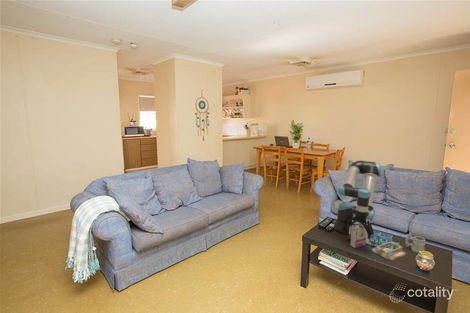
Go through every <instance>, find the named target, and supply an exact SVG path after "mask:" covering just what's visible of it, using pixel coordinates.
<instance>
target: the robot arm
mask: <svg viewBox="0 0 470 313" xmlns="http://www.w3.org/2000/svg"><path fill="white" fill-rule="evenodd" d="M381 167H382V166H381V163H380V162H377V161H365V160H356V161H355V162H352V163H350V164H349V166H348V168H347V173H346V176H345V179H344V181H343V185H339V186H338V191H337V193H338V194H337V195H340V196H343V197H350V198H355V199H357V201H356V205H355V203H353V202H350V201H349V202H347V201H345V202H340V203H338V206H337V216H336V221H335V223H334V225H333V229H334V230H335V231H336V232H338V233H340V234H347V235H350V236H351V232H352V225H354V224H359V223H361V224H362V225H363V226H364V227H365V229H366V231H367V235H366V244H367V243H369V242H370V239H371V236H373V235H374V234H375V232H374V230H373V226H372V223H373V221H374V218H375V213H376V209H374V206H373V200H374V195H375V194H374V193H375V188H376V181H377V180H378V179H379V177H381V173H382V172H381V170H382V168H381ZM359 174H361V175H362V177H363V184H362V188H361V187H360V188H359V187H355V183H356V181H357V178H358V175H359ZM364 223H365V224H364ZM367 225H368V226H367Z"/></svg>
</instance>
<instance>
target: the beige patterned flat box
mask: <svg viewBox="0 0 470 313" xmlns="http://www.w3.org/2000/svg"><path fill="white" fill-rule="evenodd" d="M388 245H392V246H393V247H394V248H396V249H388V248H386V247H387V246H388ZM403 248H404V247H403V246H401V245H398V244H396V243H394V242H393V241H387V242H385V243H382V244H379V245H376V246H375V247H373V248H371V252H373V253H375V254H377V255H379V256H381V257H382V258H384V259H387V261H388V260H389V262H390V261H391V262H393V261H396V260H398V259H399V258H403V257H405V256H406V255H407V253H406V252H405V251H403Z"/></svg>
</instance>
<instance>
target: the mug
mask: <svg viewBox="0 0 470 313" xmlns="http://www.w3.org/2000/svg"><path fill="white" fill-rule="evenodd" d="M410 239H413V240H412V242H411V243H410V242H409V240H410ZM404 243H405V246H406V247H411V251H412V252H413V253H416V254H419V253H418V252H419V251H425V246H426V239H425V238H424V237H421V236H418V235H415V236H412V233H411V232H409V233H408V235H407V236H406V238H405V242H404Z"/></svg>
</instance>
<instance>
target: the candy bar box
mask: <svg viewBox="0 0 470 313" xmlns="http://www.w3.org/2000/svg"><path fill="white" fill-rule="evenodd" d="M364 224H365V223H364ZM367 226H368V225H367ZM367 234H368V233H367V231H366V229H365V227H364V226H363V225H362V224H361V223H354V224H353V225H352V232H351V234H350V244H349V246H350V247H352V248H354V249H359V248H362V247H365V246H366V245H367V243H366V235H367Z"/></svg>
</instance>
